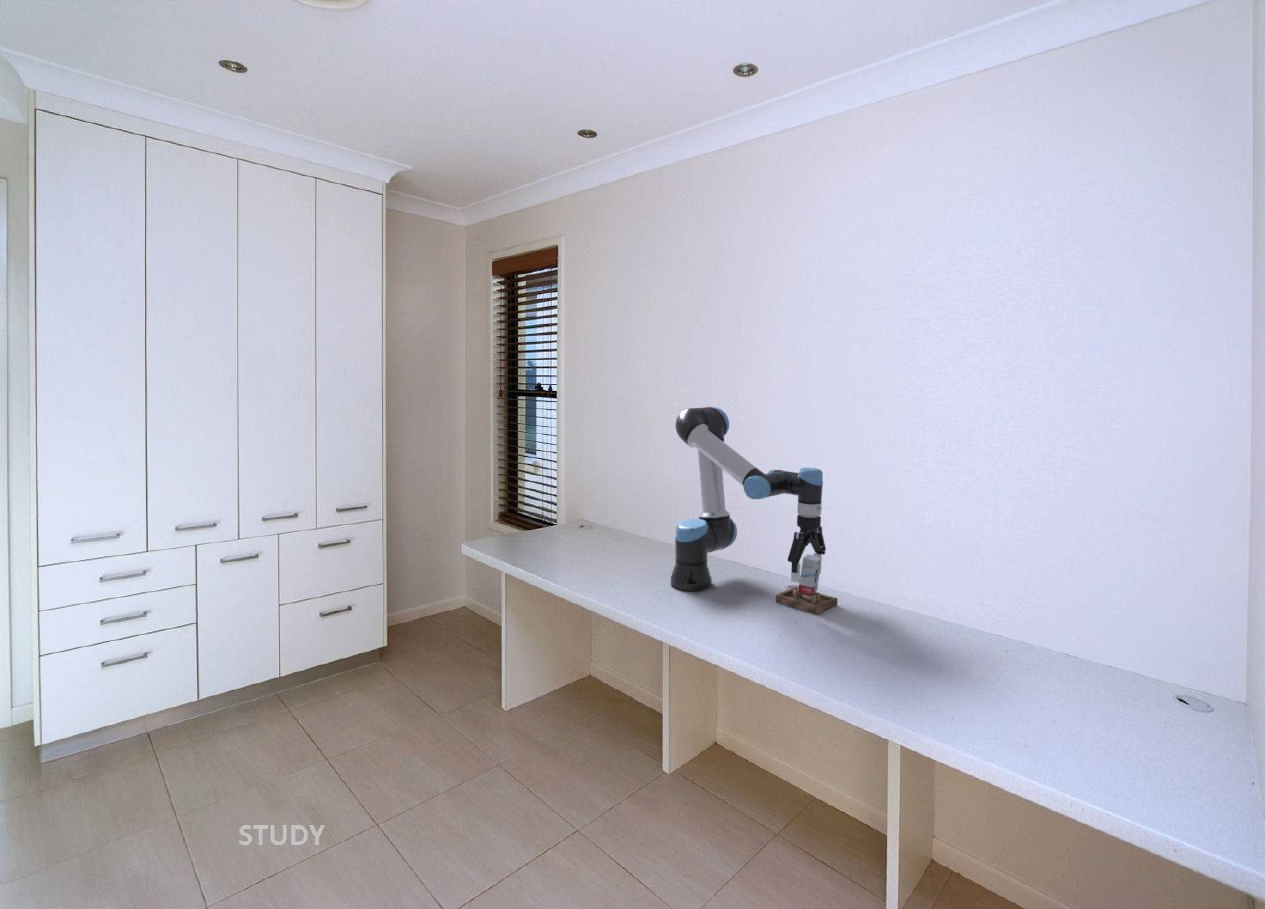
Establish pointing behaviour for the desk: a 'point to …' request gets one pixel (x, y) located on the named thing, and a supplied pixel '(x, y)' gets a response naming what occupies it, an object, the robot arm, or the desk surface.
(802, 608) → the peg frame
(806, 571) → the ink box
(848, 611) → the desk surface
